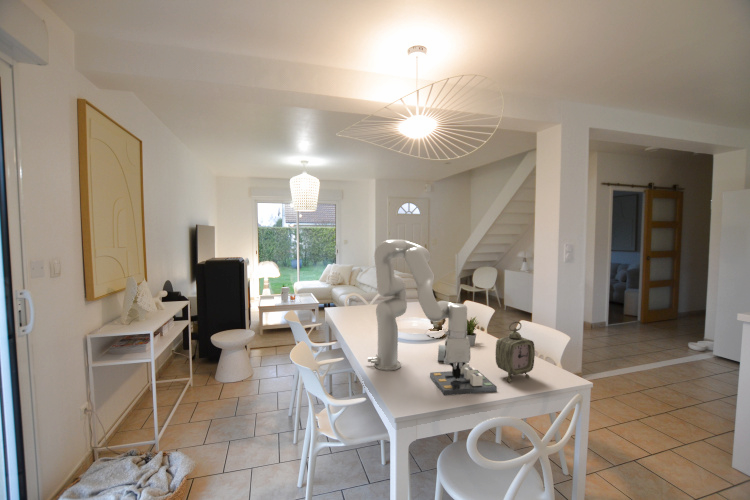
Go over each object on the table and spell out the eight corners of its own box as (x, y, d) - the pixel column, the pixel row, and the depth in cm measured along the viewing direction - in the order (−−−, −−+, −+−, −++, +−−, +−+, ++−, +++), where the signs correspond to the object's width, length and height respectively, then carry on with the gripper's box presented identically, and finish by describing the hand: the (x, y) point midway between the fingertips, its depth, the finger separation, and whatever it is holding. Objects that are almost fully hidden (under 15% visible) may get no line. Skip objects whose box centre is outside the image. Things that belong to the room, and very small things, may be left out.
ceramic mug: (454, 364, 160) (455, 348, 160) (437, 362, 162) (437, 347, 161) (454, 356, 171) (454, 342, 170) (437, 355, 172) (438, 340, 172)
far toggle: (460, 373, 144) (460, 363, 143) (458, 371, 146) (458, 361, 146) (469, 373, 144) (469, 363, 144) (466, 370, 147) (466, 361, 147)
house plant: (462, 338, 201) (462, 311, 200) (485, 342, 192) (486, 315, 192) (453, 344, 189) (453, 316, 188) (477, 349, 181) (477, 320, 180)
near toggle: (472, 386, 132) (473, 375, 132) (470, 383, 134) (470, 372, 134) (482, 385, 132) (482, 374, 132) (479, 382, 135) (479, 372, 135)
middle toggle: (466, 379, 138) (466, 369, 138) (464, 377, 140) (464, 367, 140) (475, 379, 138) (475, 368, 138) (472, 376, 141) (473, 366, 141)
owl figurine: (424, 330, 217) (425, 304, 217) (442, 330, 217) (443, 305, 217) (428, 338, 199) (429, 310, 199) (448, 339, 199) (449, 311, 199)
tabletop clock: (508, 385, 138) (510, 325, 137) (493, 376, 146) (494, 320, 145) (534, 379, 144) (535, 322, 143) (517, 371, 152) (518, 317, 151)
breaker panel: (444, 395, 129) (444, 388, 129) (429, 377, 145) (430, 371, 145) (496, 391, 132) (496, 385, 132) (477, 374, 149) (477, 368, 149)
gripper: (443, 337, 133) (442, 382, 133) (478, 335, 135) (477, 380, 136) (436, 331, 140) (436, 374, 141) (470, 330, 142) (469, 372, 143)
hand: (456, 377), depth 138 cm, fingers closed
